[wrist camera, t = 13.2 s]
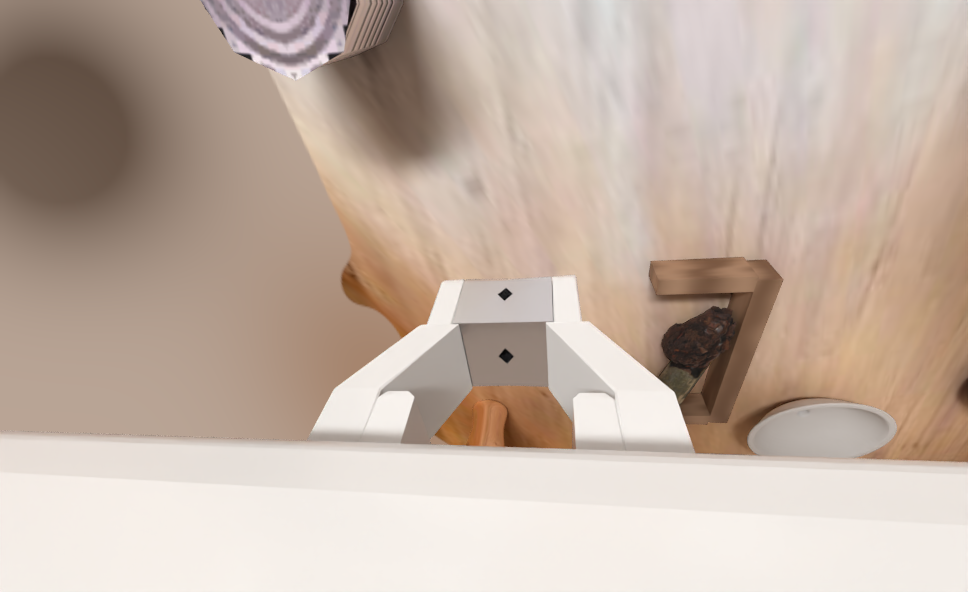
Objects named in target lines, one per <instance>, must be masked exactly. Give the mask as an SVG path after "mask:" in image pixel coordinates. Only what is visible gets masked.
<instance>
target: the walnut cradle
mask: <svg viewBox="0 0 968 592" xmlns="http://www.w3.org/2000/svg"><path fill="white" fill-rule="evenodd" d="M649 277H650V280H651V282H652V285H653V287H654V290H655V292H656V295H672V294H704V293H732V295H731V299H730V302H729V305H728V309H731V310H733V311H732V316H731V317H732V318H733V323H734V322H736V326H735V328H734V330H735V334H734V336H733V337H730V338H732V339H731V340H730V342H729V343H730V345H731V346H730V347H729V349H728V350H725V351H724V352H723V353H720V356H719V357H717V358H716V359H715V360H714V361H712V362H711V363H710V367H709V370H708V373H707V376H706V379H705V383H704V386H703V389H702V392H701V394H688V395H687V396H686V398H685V399H684V401H683V402H682V403H681V405H680V406H679V407H680V410H681V413H682V416H683V419H684V422H685V424H705V425H707V424H708V422H710V423H727V421H728V419H729V416H730V414H731V411H732V409H733V406H734V404H735V401H736V398H737V396H738V393H739V391H740V388H741V386H742V383H743V381H744V378H745V376H746V373H747V371H748V368H749V366H750V363H751V361H752V358H753V356H754V353H755V350H756V348H757V345H758V343H759V340H760V338H761V335H762V333H763V330H764V328H765V325H766V323H767V320H768V318H769V315H770V313H771V310H772V308H773V305H774V303H775V300H776V297H777V295H778V292H779V290H780V287H781V285H782V282H783V279H782V277H781V276H780V275H779V274H778V273H777V272H776V270H775V269H774V268H773V267H772V266H771V265H770V263H769V262H768V261H767V260H749V261H746V260H745V258H744V257H734V258H711V259H689V260H667V261H651V264H650V270H649Z"/></svg>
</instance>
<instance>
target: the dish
mask: <svg viewBox="0 0 968 592" xmlns="http://www.w3.org/2000/svg"><path fill="white" fill-rule="evenodd" d="M896 431H897V425H896V422H895V420H894V419H893V418H892V417H891V416H890V415H889V414H888V413H886V412H884V411H882V410H880V409H878V408H875V407H872V406H867V405H862V404H856V403H852V402H848V401H843V400H837V399H827V398H812V399H803V400H797V401H793V402H789V403H786V404H783V405H781V406H779V407H777V408H775V409H773V410H772V411H770V412H769V413H767V414H766V415H765V416H764V417H763V418H762V419H761V420H760V421H759V423H758V424H757V425H755V426H754V427H753V428H752V429H751V431H750V432H749V434H748V437H747V443H748V446H749V448H750V449H751V450H752V451H753V452H754V453H755V454H757V455H767V456H797V457H827V458H857V457H860V456H863V455H866V454H868V453H871V452H873V451H875V450H877V449H879V448H881V447H882V446H884V445H885V444H887V443H888V442H889V441H890V440H891V439H892V438H893V437H894V435H895V433H896Z"/></svg>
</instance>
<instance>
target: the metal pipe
mask: <svg viewBox="0 0 968 592" xmlns="http://www.w3.org/2000/svg"><path fill="white" fill-rule="evenodd" d="M732 311H733V310H731V309H728V308H722V309H720V308H719V307H716V306H713V307H712V308H711V309H709V310H707V311H706V312H705V313H704V314H701V315H699V316H697V317H694V318H692V319H690V320H688V321H687V322H685V323H683V324H677V323H676V324H675V325H673V326H672V327H670V328H669V330H668V332H667V333H666V334H664V339H663V340H662V347H663V350H664V353H665V355H666V357H667V358H668V359H670V360H671V361H670V363H669V364H668V365H667V367H666V368H665V369H664V371H663V372H662V374H661V375H660V376H659V377H658V379H659V380H660V381H661V382H663V383H664V384H665V385H666V386H668V387H669V388H670V389H671V390H672V391H674V392H675V395H676V398H677V401H678V404H679V406H680V405H681V403H682V402H683V401H684V399H685V398H686V396H687V395H688V394H689V392H690V391H691V390H692V388H693V387H694V385H695V384H696V383H697V381H698V380H699V378H700V377H701V376H702V374H703V373H704V371H705V370H706V369H707V367H708V366H709V364H710V363H711V362H712V361H714V360H715V359H716V358H717V357H719V356H720V353H723V352H724V351H725V350H728V349H729V347H730V346H731V345H730V343H729V342H730V340H731V339H732V338H730V337H733V336H734V334H735V330H734V328H735V326H736V322H734V323H733V318H732V317H731V316H732Z"/></svg>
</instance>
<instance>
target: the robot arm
mask: <svg viewBox="0 0 968 592" xmlns="http://www.w3.org/2000/svg"><path fill="white" fill-rule="evenodd" d="M508 385H510V386H541V387H549V390H550V391H551V392H552V394H553V395H554V397H555V398H556V399H557V401H558V402H559V404H560V405H561V407H562V408H563V409H564V411H565V412H566V414H567V415H568V416H569V418H570V419H571V421H572V422H573V427H572V449H554V448H524V447H493V446H462V445H431V442H430V439H431V438H432V437H433V436H434V434H435V433H436V432H437V431H438V429H439V428H440V427H441V426H442V425H443V423H444V422H445V421H446V420H447V419H448V417H449V416H450V415H451V414H452V413H453V411H454V410H455V409H456V408H457V406H458V405H459V404H460V403H461V402H462V400H463V399H464V398H465V397H466V396H467V394H468V393H469V392H470V391H471V390H472V386H508ZM0 592H968V462H950V461H919V460H889V459H858V458H827V457H797V456H767V455H737V454H706V453H695V451H694V448H693V445H692V442H691V439H690V436H689V433H688V430H687V427H686V425H685V422H684V419H683V416H682V413H681V410H680V407H679V404H678V401H677V398H676V395H675V392H674V391H672V390H671V389H670V388H669V387H668V386H666V385H665V384H664V383H663V382H661V381H660V380H659V379H658V378H657V377H655V376H654V375H653V374H652V373H651V372H649V371H648V370H647V369H646V368H645V367H643V366H642V365H641V364H640V363H639V362H637V361H636V360H635V359H634V358H633V357H631V356H630V355H629V354H628V353H626V352H625V351H624V350H623V349H622V348H620V347H619V346H618V345H617V344H616V343H614V342H613V341H612V340H611V339H610V338H608V337H607V336H606V335H605V334H604V333H602V332H601V331H600V330H599V329H598V328H596V327H595V326H594V325H593V324H591V323H590V322H582V317H581V309H580V302H579V294H578V286H577V279H576V276H575V275H565V276H552V277H540V278H523V279H468V280H464V279H463V280H445V281H443V282H442V283H441V286H440V289H439V291H438V294H437V297H436V300H435V303H434V306H433V308H432V311H431V314H430V317H429V320H428V323H427V325H420V326H418V327H417V328H416V329H414V330H413V331H412V332H410V333H409V334H408V335H406V336H405V337H404V338H402V339H401V340H400V341H398V342H397V343H395V344H394V345H393V346H391V347H390V348H389V349H388V350H386V351H385V352H383V353H382V354H381V355H380V356H378V357H377V358H375V359H374V360H373V361H371V362H370V363H368V364H367V365H366V366H364V367H363V368H362V369H360V370H359V371H358V372H357V373H355V374H354V375H352V376H351V377H350V378H348V379H347V380H345V381H344V382H343V383H341V384H340V385H339V386H337V387H336V388H335V389H334V390H333V392H332V394H331V396H330V398H329V400H328V402H327V403H326V405H325V407H324V409H323V411H322V413H321V415H320V417H319V418H318V420H317V422H316V424H315V426H314V428H313V430H312V432H311V433H310V435H309V437H308V439H307V440H279V439H248V438H247V439H245V438H217V437H216V438H215V437H186V436H154V435H125V434H124V435H123V434H93V433H63V432H60V433H59V432H32V431H0Z"/></svg>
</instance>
